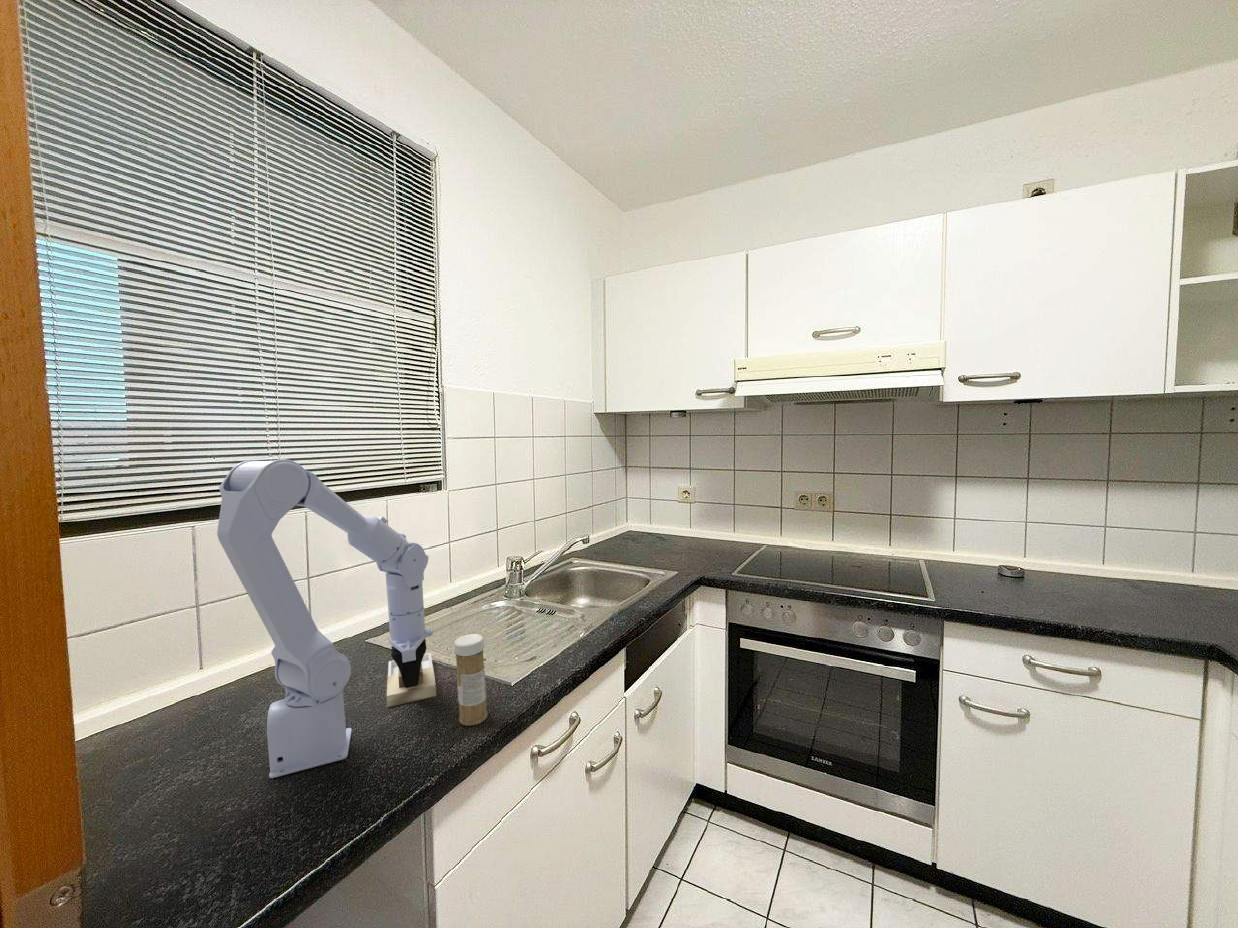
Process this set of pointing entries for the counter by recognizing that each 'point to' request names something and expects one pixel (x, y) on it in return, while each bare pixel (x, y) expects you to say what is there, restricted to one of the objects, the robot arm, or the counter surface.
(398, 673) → the walnut block
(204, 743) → the counter surface
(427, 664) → the box
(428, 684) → the birch board
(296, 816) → the counter surface
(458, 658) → the sprinkles bottle
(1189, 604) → the counter surface
